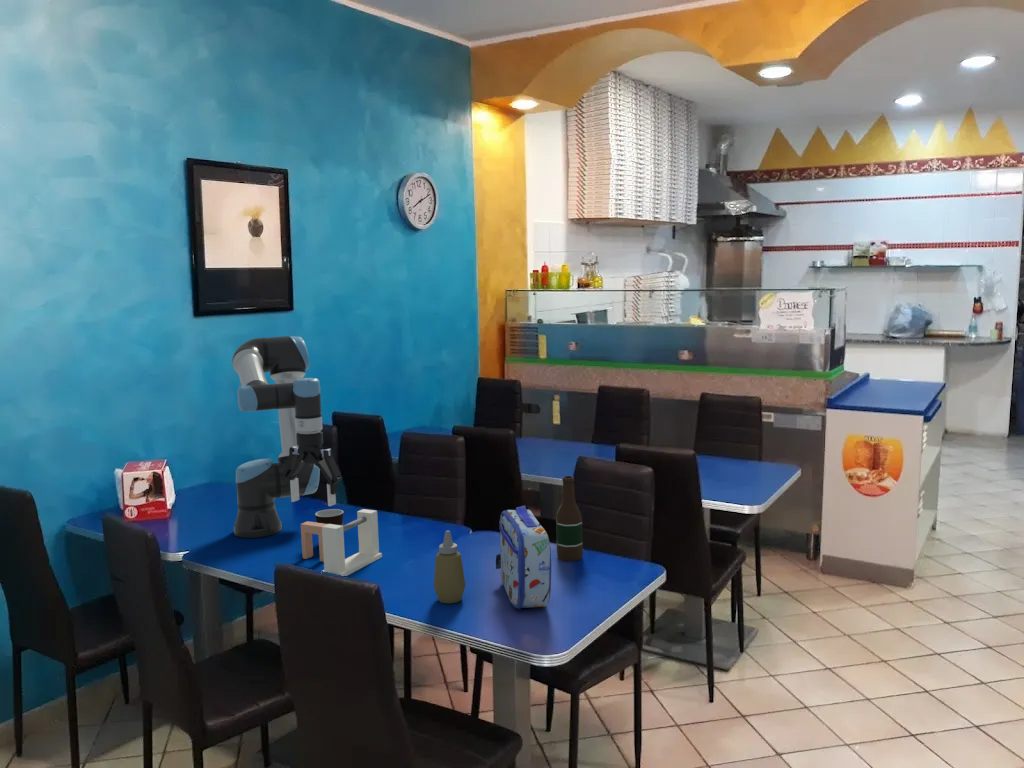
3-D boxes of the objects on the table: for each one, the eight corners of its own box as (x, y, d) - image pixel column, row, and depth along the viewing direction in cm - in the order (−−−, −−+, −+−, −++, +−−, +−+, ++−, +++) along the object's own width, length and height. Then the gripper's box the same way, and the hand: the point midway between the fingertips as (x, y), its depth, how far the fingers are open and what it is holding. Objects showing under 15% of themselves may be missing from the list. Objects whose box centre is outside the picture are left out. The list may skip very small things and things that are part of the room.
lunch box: (493, 578, 226) (491, 500, 223) (530, 575, 228) (529, 497, 225) (515, 618, 199) (513, 529, 196) (557, 614, 201) (555, 526, 198)
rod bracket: (321, 574, 232) (318, 526, 230) (362, 554, 249) (360, 508, 247) (341, 578, 229) (339, 529, 227) (382, 557, 246) (379, 511, 244)
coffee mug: (338, 549, 254) (336, 517, 253) (312, 547, 256) (310, 516, 254) (353, 537, 265) (351, 506, 264) (328, 536, 267) (326, 506, 266)
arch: (302, 558, 246) (300, 524, 245) (309, 555, 249) (307, 521, 248) (324, 561, 243) (322, 527, 241) (330, 558, 245) (328, 524, 244)
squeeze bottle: (434, 594, 215) (431, 527, 213) (465, 592, 216) (463, 525, 214) (434, 606, 207) (431, 537, 205) (466, 605, 208) (464, 535, 206)
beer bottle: (586, 554, 243) (584, 474, 240) (579, 563, 236) (578, 480, 233) (560, 552, 246) (559, 473, 243) (553, 560, 239) (551, 479, 236)
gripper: (267, 431, 243) (271, 502, 246) (335, 436, 232) (339, 510, 235) (285, 427, 250) (289, 496, 252) (352, 431, 239) (355, 503, 241)
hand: (313, 503), depth 244 cm, fingers open, 13 cm apart
